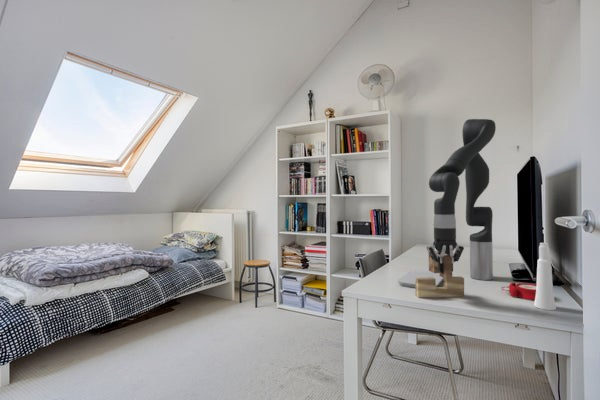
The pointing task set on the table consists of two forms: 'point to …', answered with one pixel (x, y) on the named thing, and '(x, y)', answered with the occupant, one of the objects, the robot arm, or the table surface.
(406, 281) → the tablet
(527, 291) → the alarm clock
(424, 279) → the oak slotted rail
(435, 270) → the walnut cross plate
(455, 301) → the table surface
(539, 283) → the cosmetic bottle
